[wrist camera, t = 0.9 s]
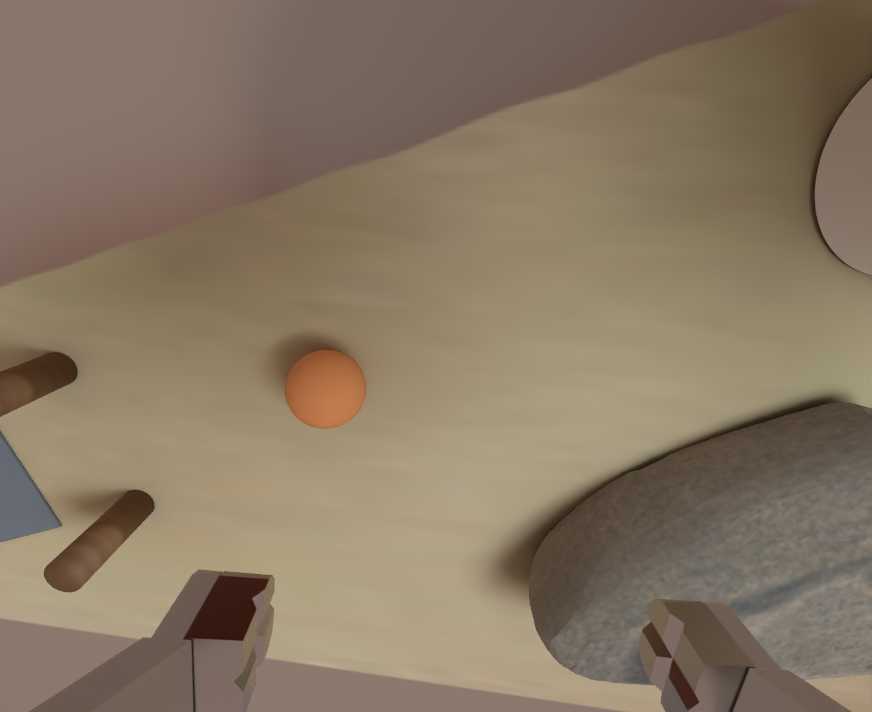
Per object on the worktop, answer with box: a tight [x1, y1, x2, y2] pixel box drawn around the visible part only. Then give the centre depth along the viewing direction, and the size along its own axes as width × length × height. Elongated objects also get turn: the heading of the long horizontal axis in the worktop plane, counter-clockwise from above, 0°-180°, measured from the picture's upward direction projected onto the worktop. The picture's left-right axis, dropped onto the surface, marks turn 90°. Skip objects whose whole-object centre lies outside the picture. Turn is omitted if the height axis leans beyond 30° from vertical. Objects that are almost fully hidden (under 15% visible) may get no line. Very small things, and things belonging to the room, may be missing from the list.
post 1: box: [0, 352, 77, 417], centre depth 31 cm, size 3×3×8 cm
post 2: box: [44, 490, 154, 592], centre depth 34 cm, size 3×3×8 cm
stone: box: [529, 402, 872, 685], centre depth 34 cm, size 28×10×20 cm
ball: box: [285, 350, 366, 429], centre depth 32 cm, size 6×6×6 cm
